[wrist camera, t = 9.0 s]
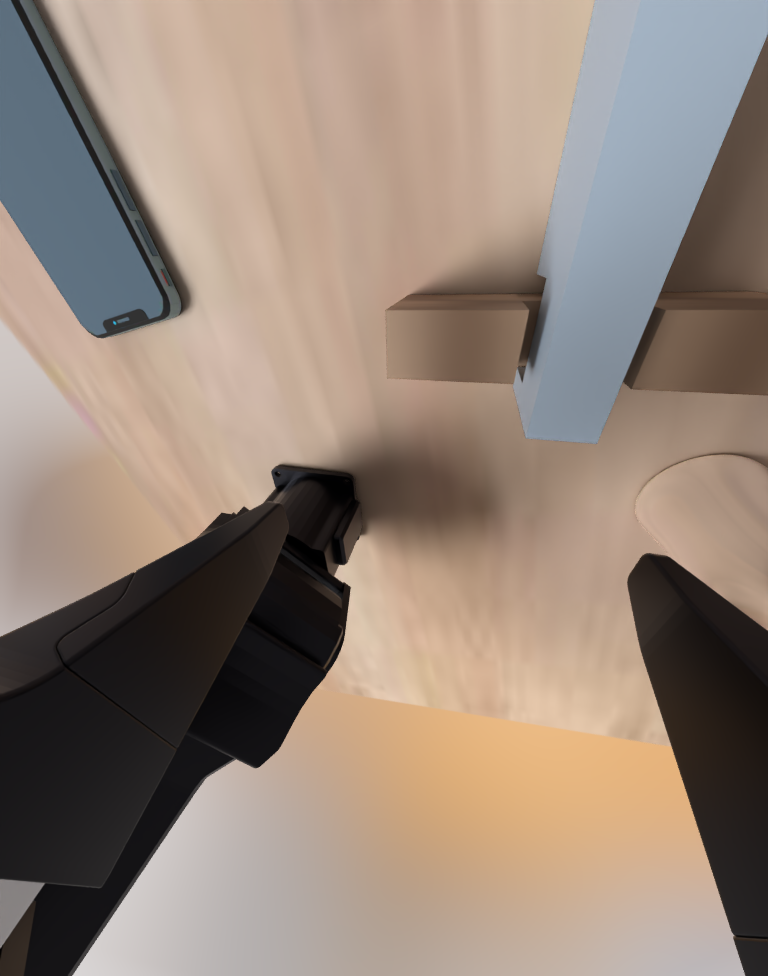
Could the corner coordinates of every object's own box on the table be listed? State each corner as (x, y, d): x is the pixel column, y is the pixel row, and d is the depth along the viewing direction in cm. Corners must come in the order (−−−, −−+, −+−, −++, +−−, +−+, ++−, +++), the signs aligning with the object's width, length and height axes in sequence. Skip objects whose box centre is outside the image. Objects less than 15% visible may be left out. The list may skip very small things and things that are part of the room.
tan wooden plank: (407, 348, 17) (387, 378, 13) (408, 295, 16) (385, 310, 12) (715, 356, 14) (804, 396, 10) (752, 291, 13) (871, 310, 9)
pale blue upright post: (512, 386, 17) (525, 438, 12) (621, -123, 9) (786, -553, 4) (563, 388, 17) (597, 444, 12) (730, -150, 8) (1063, -679, 4)
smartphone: (-91, -211, 10) (174, 315, 18) (-24, -156, 11) (196, 311, 19) (-180, -64, 12) (87, 342, 20) (-116, -32, 14) (112, 337, 22)
